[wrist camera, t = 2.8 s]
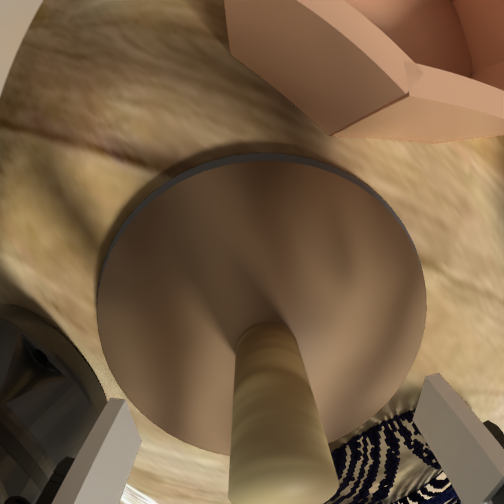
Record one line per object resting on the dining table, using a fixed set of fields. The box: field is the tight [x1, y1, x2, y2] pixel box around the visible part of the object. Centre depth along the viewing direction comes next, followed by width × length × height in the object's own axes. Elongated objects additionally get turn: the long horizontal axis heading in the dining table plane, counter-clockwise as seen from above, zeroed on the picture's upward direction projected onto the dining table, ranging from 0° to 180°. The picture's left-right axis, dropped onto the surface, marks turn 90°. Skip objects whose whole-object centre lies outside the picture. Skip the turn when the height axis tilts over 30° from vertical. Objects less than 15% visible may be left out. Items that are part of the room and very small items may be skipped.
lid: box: [97, 161, 427, 504], centre depth 13 cm, size 21×21×11 cm
